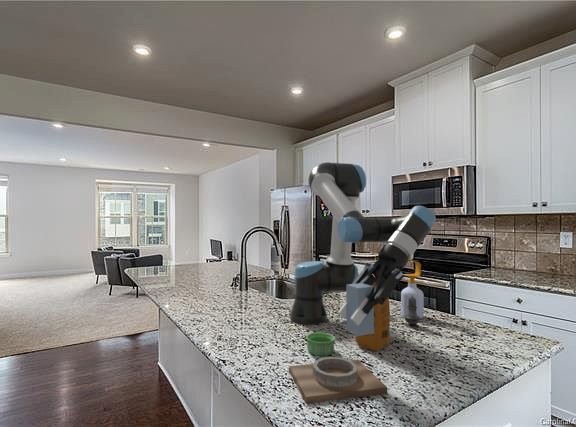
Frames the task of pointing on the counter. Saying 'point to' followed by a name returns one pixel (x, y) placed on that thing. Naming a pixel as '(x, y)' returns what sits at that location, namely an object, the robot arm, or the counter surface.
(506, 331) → the counter surface
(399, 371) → the counter surface
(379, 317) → the coffee package
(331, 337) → the ramekin
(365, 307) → the robot arm
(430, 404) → the counter surface
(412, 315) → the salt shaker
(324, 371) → the collar plate
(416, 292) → the soap bottle
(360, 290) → the slate peg
